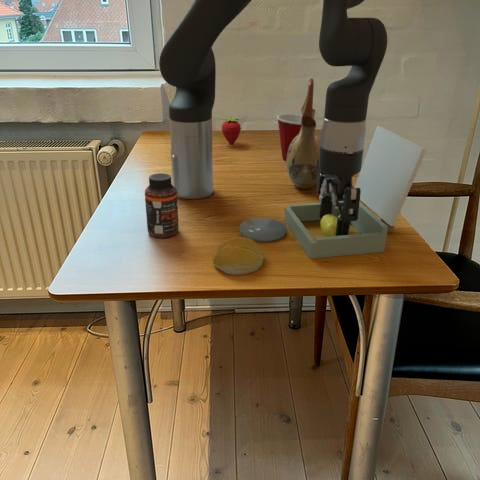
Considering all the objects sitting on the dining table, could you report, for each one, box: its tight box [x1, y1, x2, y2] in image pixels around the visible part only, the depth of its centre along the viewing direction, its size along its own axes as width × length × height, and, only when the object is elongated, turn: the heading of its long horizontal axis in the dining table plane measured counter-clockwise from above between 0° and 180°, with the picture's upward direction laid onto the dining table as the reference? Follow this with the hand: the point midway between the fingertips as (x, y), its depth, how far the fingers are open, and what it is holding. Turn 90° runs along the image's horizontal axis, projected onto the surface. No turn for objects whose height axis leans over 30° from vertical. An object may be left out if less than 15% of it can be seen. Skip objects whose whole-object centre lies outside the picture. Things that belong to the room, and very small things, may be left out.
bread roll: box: [212, 236, 265, 276], centre depth 78 cm, size 8×9×4 cm
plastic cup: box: [276, 113, 317, 162], centre depth 129 cm, size 11×11×12 cm
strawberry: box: [221, 117, 242, 146], centre depth 141 cm, size 6×8×10 cm
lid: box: [353, 125, 427, 227], centre depth 84 cm, size 14×16×1 cm
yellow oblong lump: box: [320, 214, 338, 237], centre depth 87 cm, size 4×8×4 cm, turn 174°
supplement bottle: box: [144, 172, 180, 239], centre depth 86 cm, size 6×6×11 cm
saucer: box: [239, 217, 287, 243], centre depth 89 cm, size 9×9×1 cm
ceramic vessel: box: [285, 78, 321, 190], centre depth 107 cm, size 16×9×25 cm, turn 173°
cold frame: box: [283, 201, 388, 260], centre depth 87 cm, size 14×16×5 cm
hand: (333, 228), depth 88 cm, fingers closed on yellow oblong lump, 8 cm apart
